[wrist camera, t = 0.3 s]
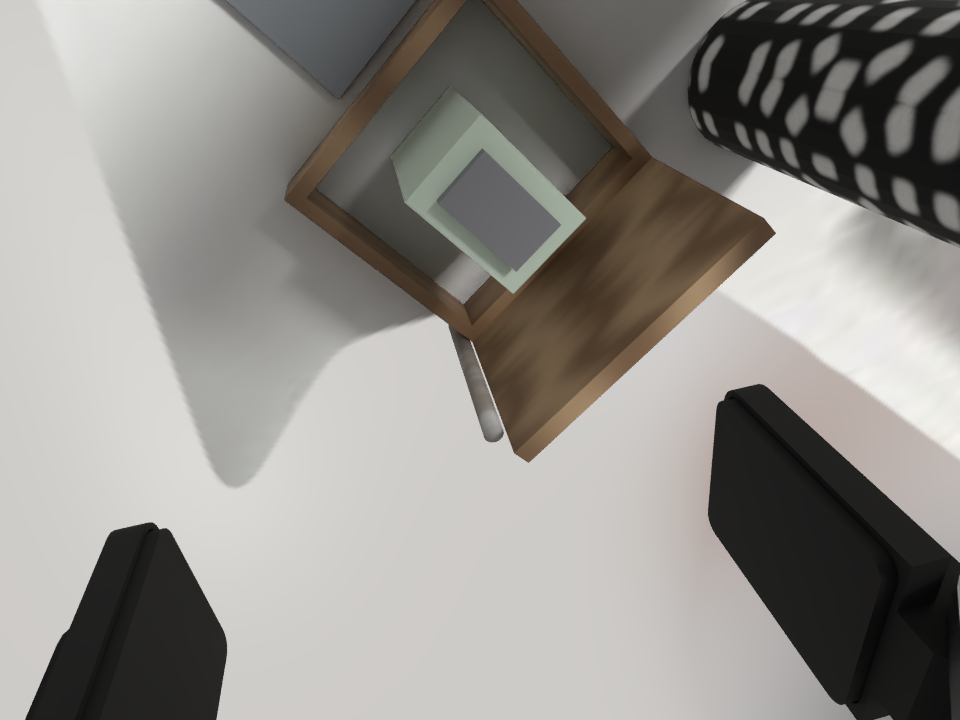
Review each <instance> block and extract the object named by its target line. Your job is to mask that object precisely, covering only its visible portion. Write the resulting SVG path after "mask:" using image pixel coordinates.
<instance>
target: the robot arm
mask: <svg viewBox="0 0 960 720" xmlns="http://www.w3.org/2000/svg"><path fill="white" fill-rule="evenodd" d="M708 516H709V521H710V524H711V527H712V529H713V531H714V532H715V534H716V536H717V537H718V538H719V540H720V541H721V543H722V544H723V545H724V547H725V548H726V550H727V551H728V553H729V554H730V556H731V557H732V558H733V560H734V561H735V563H736V564H737V565H738V567H739V568H740V570H741V571H742V573H743V574H744V575H745V577H746V578H747V579H748V581H749V583H750V584H751V585H752V587H753V588H754V590H755V591H756V593H757V594H758V595H759V597H760V598H761V600H762V601H763V602H764V604H765V605H766V607H767V608H768V609H769V611H770V612H771V614H772V615H773V617H774V618H775V620H776V621H777V622H778V624H779V625H780V627H781V628H782V629H783V631H784V632H785V634H786V635H787V637H788V638H789V640H790V641H791V642H792V644H793V645H794V647H795V648H796V649H797V651H798V652H799V654H800V655H801V656H802V658H803V659H804V661H805V662H806V664H807V665H808V666H809V668H810V669H811V670H812V672H813V674H814V675H815V677H816V678H817V679H818V681H819V682H820V684H821V685H822V686H823V688H824V689H825V691H826V692H827V693H828V695H829V696H830V697H831V699H832V700H834V701H835V702H836V703H837V704H840V705H843V704H846V706H847V707H848V708H849V710H850V711H851V712H852V714H853V715H854V717H855V718H856V719H857V720H874V719H878V718H881V717H885V716H888V715H890V716H891V717H892V719H893V720H960V563H959V562H958V561H957V560H956V559H955V558H954V557H952V556H951V555H950V554H949V553H948V552H947V551H946V550H945V549H944V548H943V547H942V546H941V545H939V544H938V543H937V542H936V541H935V540H934V539H933V538H932V537H931V536H930V535H928V534H927V533H926V532H925V531H924V530H923V529H922V528H921V527H920V526H918V525H917V524H916V523H915V522H914V521H913V520H912V519H911V518H910V517H909V516H908V515H907V514H905V513H904V512H903V511H902V510H901V509H900V508H899V507H898V506H897V505H896V504H895V503H893V502H892V501H891V500H890V499H889V498H888V497H887V496H886V495H885V494H884V493H883V492H881V491H880V490H879V489H878V488H877V487H876V486H875V485H874V484H873V483H871V482H870V481H869V480H868V479H867V478H866V477H865V476H863V474H862V473H860V472H859V471H858V470H857V469H856V468H855V467H854V466H853V465H852V464H851V463H850V462H849V461H847V460H846V459H845V458H844V457H843V456H842V455H841V454H840V453H839V452H838V451H836V450H835V449H834V448H833V447H832V446H831V445H830V444H829V443H828V442H827V441H825V440H824V439H823V438H822V437H821V436H820V435H819V434H818V433H817V432H816V431H814V430H813V429H812V428H811V427H810V426H809V425H808V424H807V423H805V421H803V420H802V419H801V418H800V417H799V416H798V415H797V414H796V413H795V412H794V411H793V410H791V409H790V408H789V407H788V406H787V405H786V404H785V403H784V402H783V401H782V400H781V399H779V398H778V397H777V396H776V395H775V394H774V393H773V392H772V391H771V390H770V389H768V388H767V387H766V386H764V385H762V384H757V385H753V386H748V387H744V388H740V389H735V390H731V391H729V392H727V394H726V395H725V399H724V401H721V402H719V403H718V405H717V410H716V422H715V435H714V446H713V459H712V470H711V482H710V495H709V506H708ZM226 656H227V642H226V637H225V634H224V631H223V629H222V627H221V625H220V623H219V622H218V620H217V618H216V616H215V614H214V612H213V610H212V608H211V607H210V605H209V603H208V601H207V599H206V597H205V595H204V594H203V591H202V590H201V588H200V586H199V584H198V582H197V580H196V578H195V576H194V575H193V573H192V571H191V569H190V567H189V565H188V563H187V561H186V560H185V558H184V556H183V554H182V552H181V550H180V548H179V546H178V545H177V543H176V541H175V539H174V537H173V535H172V533H171V532H170V531H169V530H168V529H167V528H165V529H159V528H158V527H157V525H155V524H154V523H145V524H141V525H136V526H131V527H127V528H122V529H118V530H114V531H113V532H111V533H110V534H109V536H108V538H107V540H106V542H105V545H104V547H103V549H102V552H101V554H100V556H99V559H98V561H97V564H96V566H95V568H94V571H93V573H92V576H91V578H90V580H89V583H88V585H87V588H86V590H85V592H84V595H83V597H82V600H81V602H80V604H79V607H78V609H77V612H76V614H75V616H74V619H73V621H72V624H71V626H70V629H69V630H68V631H67V632H65V633H64V634H63V635H62V637H61V639H60V641H59V642H58V644H57V646H56V648H55V651H54V653H53V655H52V658H51V660H50V662H49V665H48V667H47V670H46V672H45V674H44V676H43V679H42V681H41V684H40V686H39V688H38V691H37V693H36V695H35V698H34V700H33V702H32V705H31V707H30V709H29V712H28V714H27V716H26V719H25V720H216V718H217V711H218V706H219V699H220V694H221V687H222V681H223V675H224V669H225V663H226Z"/></svg>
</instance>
